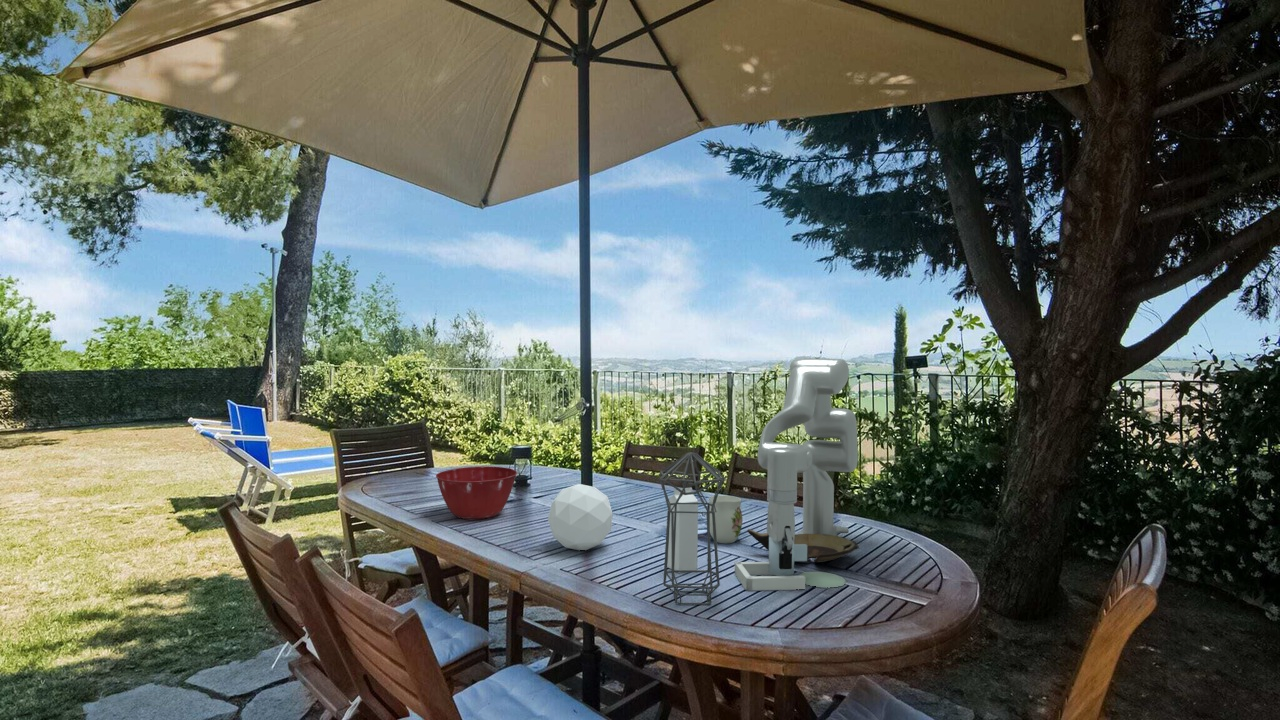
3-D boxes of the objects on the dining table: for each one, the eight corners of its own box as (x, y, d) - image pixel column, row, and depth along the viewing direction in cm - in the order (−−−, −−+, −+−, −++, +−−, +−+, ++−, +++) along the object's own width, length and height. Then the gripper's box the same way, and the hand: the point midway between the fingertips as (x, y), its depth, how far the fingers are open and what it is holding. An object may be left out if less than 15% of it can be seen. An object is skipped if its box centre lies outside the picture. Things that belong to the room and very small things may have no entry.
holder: (789, 572, 177) (789, 561, 177) (805, 589, 164) (805, 577, 164) (734, 573, 176) (734, 562, 176) (746, 590, 163) (746, 578, 163)
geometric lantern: (659, 609, 150) (658, 456, 151) (660, 587, 166) (659, 448, 166) (728, 610, 149) (727, 456, 150) (722, 588, 165) (722, 448, 166)
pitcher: (752, 535, 213) (753, 493, 213) (730, 549, 198) (730, 503, 198) (721, 530, 219) (722, 489, 219) (697, 543, 204) (698, 499, 204)
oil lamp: (848, 577, 174) (848, 548, 174) (741, 559, 189) (741, 532, 189) (864, 555, 193) (865, 529, 193) (766, 540, 208) (766, 516, 208)
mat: (835, 572, 177) (835, 571, 177) (852, 588, 165) (852, 586, 165) (791, 573, 177) (791, 572, 177) (806, 588, 165) (806, 587, 165)
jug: (772, 576, 167) (772, 541, 167) (765, 568, 173) (766, 534, 173) (810, 575, 168) (810, 540, 168) (802, 567, 174) (802, 533, 174)
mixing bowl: (474, 529, 217) (474, 483, 217) (418, 517, 233) (418, 474, 233) (532, 513, 241) (533, 471, 241) (478, 503, 257) (478, 463, 256)
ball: (586, 565, 203) (614, 507, 212) (601, 559, 185) (631, 497, 194) (532, 535, 202) (562, 479, 211) (542, 527, 184) (575, 466, 193)
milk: (697, 570, 178) (699, 489, 178) (678, 573, 175) (680, 491, 175) (685, 564, 183) (686, 485, 183) (666, 567, 180) (668, 487, 180)
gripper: (759, 488, 179) (758, 554, 179) (777, 503, 161) (776, 575, 161) (786, 488, 179) (785, 554, 179) (807, 502, 162) (806, 575, 162)
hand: (781, 563), depth 170 cm, fingers closed on jug, 6 cm apart
